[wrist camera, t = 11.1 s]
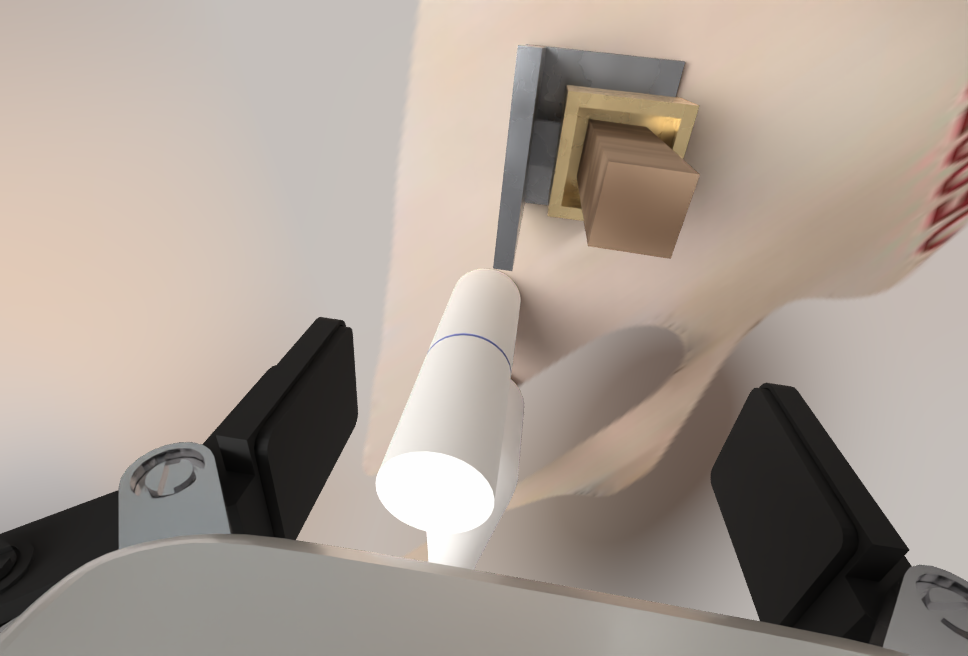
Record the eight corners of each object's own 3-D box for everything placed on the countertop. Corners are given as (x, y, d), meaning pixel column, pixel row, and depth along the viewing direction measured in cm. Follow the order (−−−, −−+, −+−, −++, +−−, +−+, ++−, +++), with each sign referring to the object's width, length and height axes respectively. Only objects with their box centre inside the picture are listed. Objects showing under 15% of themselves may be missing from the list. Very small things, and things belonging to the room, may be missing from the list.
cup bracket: (526, 44, 37) (509, 44, 23) (681, 61, 36) (759, 71, 22) (508, 196, 43) (486, 267, 29) (639, 213, 42) (681, 294, 29)
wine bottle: (450, 356, 53) (356, 641, 28) (532, 374, 53) (512, 678, 28) (440, 417, 58) (352, 706, 33) (515, 434, 58) (484, 737, 33)
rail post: (588, 118, 33) (608, 161, 21) (646, 126, 32) (700, 174, 21) (576, 176, 35) (588, 246, 23) (630, 184, 35) (670, 258, 23)
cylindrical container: (534, 290, 48) (517, 488, 26) (498, 339, 51) (459, 548, 30) (473, 255, 47) (404, 432, 25) (441, 308, 50) (358, 501, 29)
